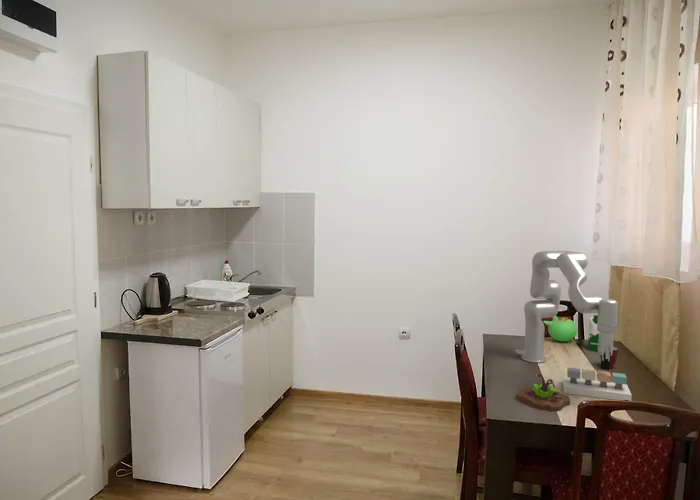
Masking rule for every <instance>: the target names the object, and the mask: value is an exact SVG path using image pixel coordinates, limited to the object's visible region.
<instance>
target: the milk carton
mask: <svg viewBox="0 0 700 500" xmlns="http://www.w3.org/2000/svg"><path fill="white" fill-rule="evenodd" d="M597 322H598V314H594V315H593V316H591V317H590V318H589V323H588V330H587V331H588V332H587V333H588V335H587V344H588V345H587V346H588V351H592V352H597V353H599V352H598V339H599V331H597Z"/></svg>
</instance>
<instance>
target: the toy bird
mask: <svg viewBox="0 0 700 500" xmlns="http://www.w3.org/2000/svg"><path fill="white" fill-rule="evenodd" d="M542 322H543V324H545V325H546V326H547V331H548V334H549V336H550V337H551V339H554V340H556V341H558V342H569V341H571V340H573V339H574V338H575V337H576V336H577V333H578V326H577V325H576V323H575V322H574V321H573V320H572V319H569V317H559V316H557V315H556V316H554V317H552V320H551V321H550V320H542Z"/></svg>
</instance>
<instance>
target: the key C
mask: <svg viewBox="0 0 700 500" xmlns="http://www.w3.org/2000/svg"><path fill="white" fill-rule="evenodd" d="M596 380H598V381H600V387H606V388H607V382H609V383H611V382H612V373H610V371H604V370H603V371H602V370H597V371H596Z"/></svg>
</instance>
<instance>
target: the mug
mask: <svg viewBox="0 0 700 500" xmlns="http://www.w3.org/2000/svg"><path fill="white" fill-rule="evenodd" d="M599 355H600V354H599ZM618 355H619V347H615V346H613V353H612V355H611V356H610V360H609V361H610V366H609V369H612V368H613V367H614V365H616V362H617V359H618ZM601 358H602V354H601V355H600V359H601Z"/></svg>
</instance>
